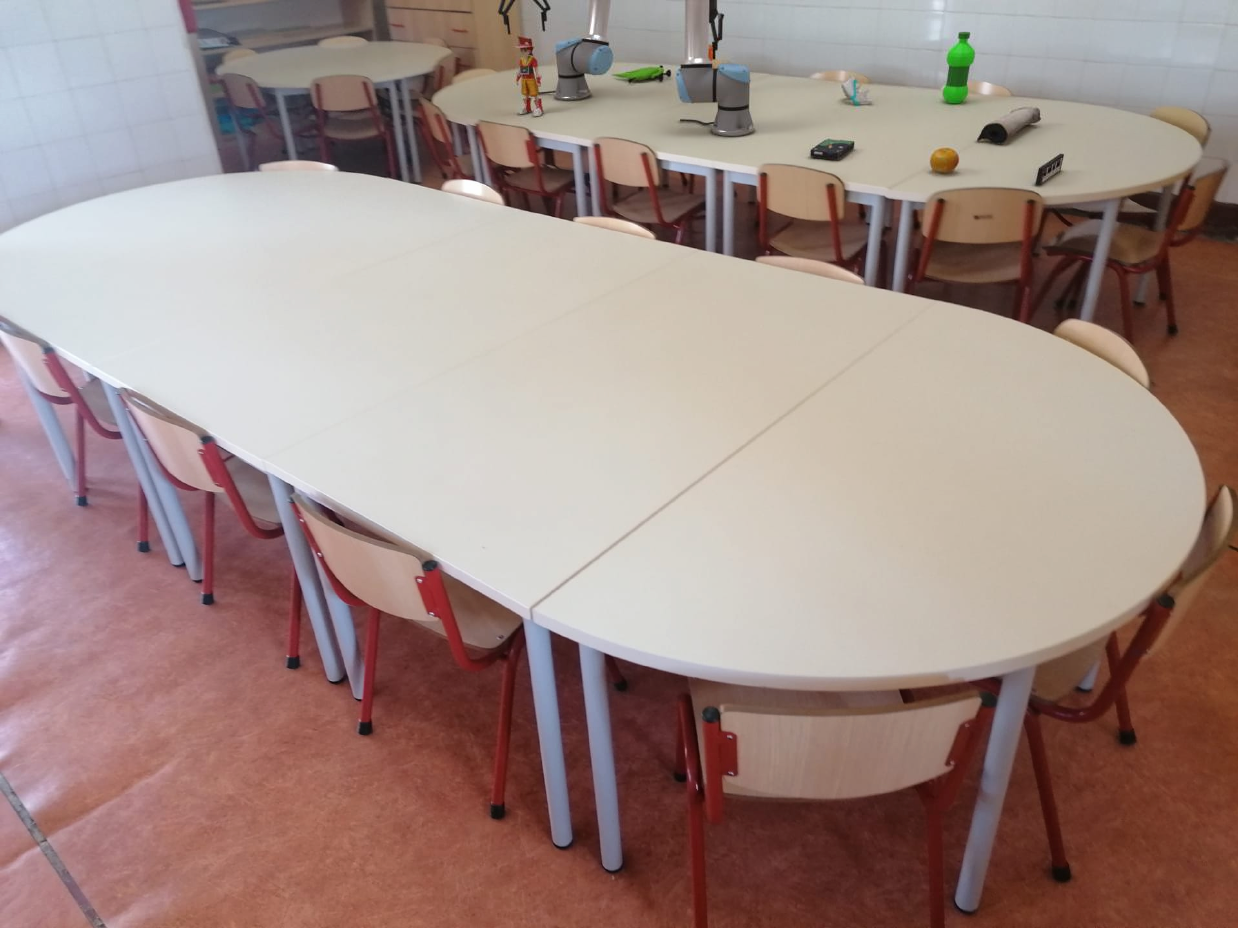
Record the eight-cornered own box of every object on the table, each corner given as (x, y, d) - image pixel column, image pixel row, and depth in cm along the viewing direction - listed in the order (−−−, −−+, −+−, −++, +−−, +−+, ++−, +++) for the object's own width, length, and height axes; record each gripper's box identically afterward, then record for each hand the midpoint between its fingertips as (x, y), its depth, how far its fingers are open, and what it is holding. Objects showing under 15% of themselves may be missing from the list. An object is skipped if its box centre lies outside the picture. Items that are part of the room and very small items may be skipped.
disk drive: (838, 161, 299) (854, 149, 309) (839, 153, 298) (855, 140, 308) (809, 158, 304) (825, 146, 314) (810, 149, 302) (826, 137, 313)
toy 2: (680, 71, 422) (628, 71, 438) (679, 59, 419) (627, 60, 435) (647, 89, 405) (595, 88, 421) (646, 77, 402) (593, 76, 418)
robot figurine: (714, 65, 375) (715, 44, 370) (704, 66, 374) (704, 45, 369) (710, 62, 380) (710, 41, 375) (700, 63, 379) (700, 42, 375)
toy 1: (513, 115, 373) (504, 37, 356) (523, 110, 380) (514, 33, 363) (539, 117, 369) (531, 37, 352) (548, 111, 376) (541, 33, 359)
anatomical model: (836, 76, 365) (861, 69, 364) (839, 102, 371) (863, 95, 370) (847, 84, 352) (872, 77, 352) (849, 111, 358) (874, 104, 358)
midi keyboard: (1039, 185, 269) (1043, 168, 266) (1035, 184, 270) (1038, 168, 267) (1060, 170, 279) (1064, 154, 277) (1056, 169, 280) (1060, 153, 277)
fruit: (924, 163, 281) (941, 140, 278) (925, 165, 289) (941, 143, 286) (946, 178, 280) (963, 155, 277) (947, 180, 288) (963, 158, 285)
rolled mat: (1008, 112, 326) (1032, 94, 318) (1022, 133, 327) (1046, 116, 319) (972, 135, 309) (997, 117, 301) (987, 157, 310) (1012, 140, 301)
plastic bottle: (973, 101, 354) (984, 32, 339) (955, 106, 349) (966, 36, 335) (952, 97, 361) (962, 29, 346) (934, 102, 356) (944, 33, 342)
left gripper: (551, -33, 342) (556, 28, 354) (486, -28, 338) (493, 34, 350) (554, -31, 335) (559, 31, 348) (488, -26, 332) (495, 37, 344)
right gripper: (726, -6, 367) (725, 56, 380) (684, -2, 364) (684, 60, 378) (731, -3, 361) (730, 59, 374) (689, 1, 358) (689, 63, 372)
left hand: (526, 32), depth 349 cm, fingers open, 13 cm apart
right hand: (707, 59), depth 376 cm, fingers closed on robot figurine, 5 cm apart
